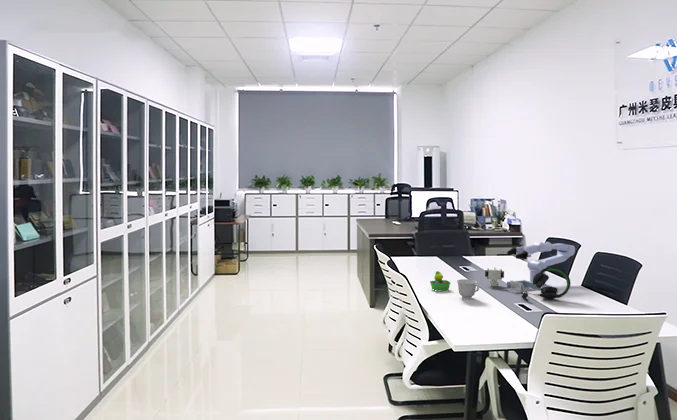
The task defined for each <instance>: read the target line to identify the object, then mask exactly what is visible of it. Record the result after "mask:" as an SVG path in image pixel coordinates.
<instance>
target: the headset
mask: <svg viewBox="0 0 677 420" xmlns="http://www.w3.org/2000/svg"><path fill="white" fill-rule="evenodd" d="M550 271H555V272H557V273H559V274H561V275H562V277H563V278H564V280H565V281H566V288H565V289H564V291H562V292H561V293H560V294H558V288H557V287H556V286H550V285H548V286H545V285H544V284H547V282H548V280H549V279H550V276H549V275H548V274H547V273H546V272H550ZM543 272H545V275H544V273H543ZM571 283H572V282H571V279H570V276H569V275H568V273H567V272H566V271H565V270H564V269H562V268H559V267H557V266H547V267H546V268H545V269H543V270H541V272H539V273H537V274H536V275H535V276H534V277H533V284H534V285H535V284H536V286H537V287H538V288H541V291H540V293H539V294H537V293H536V294H534V293H531V292H523V293H521V298H522V299H523V300H525V301H528V296H529V294H530V295H533V296H538V297H541V298H543V299H545V300H550V301H552V300H554V299H558V298H562V297H563V296H565V295H566V294H567V293H568V291H569V290H570V288H571Z"/></svg>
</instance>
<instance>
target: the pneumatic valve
mask: <svg viewBox="0 0 677 420" xmlns="http://www.w3.org/2000/svg"><path fill="white" fill-rule="evenodd" d="M484 277H485V278H486V279H487V280H490V281H489V285H490V286H492V287H498V286H499V282H500V281H502V279H504V278H505V271H504V270H502V268H496V267H493V268H490V267H489V268H487V269H485V271H484ZM498 280H499V281H498Z"/></svg>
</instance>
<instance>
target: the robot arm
mask: <svg viewBox="0 0 677 420" xmlns="http://www.w3.org/2000/svg"><path fill="white" fill-rule="evenodd" d="M552 250H557V251H556V255H553V256H550V257H546V258H543V259H535V260H534V259H530V260H528V262H527V264H526V265H527V268H528V271H529V282H533V277H534V276H535V275H536V274H537V273H539V272H541V270H543V269H545V268H548V267H551V266H554V265H556V264H560V263H563V262H566V261H567V260H568V259H569V258H570V257H572V256H574V255H575V252H576V247H575V246H574V245H572V244H567V243H566V244H565V243H561V242H560V243H559V242H558V243H551V242H550V241H545V242H542V241H541V242H533V243H532V244H530V245H526V246H524V245H521V246H520V247H517V246H512V247H511V249H510V250H508V251H507V252H506V253H507V254H506V255H508V256H510V255H513V256H515V259H520V260H521V259H522V260H527V259H528V258H532V255H534V254H536V253H544V252H551V251H552ZM543 273H544V275H545V274H546V272H543ZM545 285H547V283H545V284H544V285H543V286H545Z"/></svg>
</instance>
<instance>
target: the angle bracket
mask: <svg viewBox="0 0 677 420" xmlns="http://www.w3.org/2000/svg"><path fill="white" fill-rule="evenodd" d="M516 281H517V280H510V281H509V282H510V287H509V288H508V287H507V288H504V289H503V290H504V291H505V292H507V293H511V294H513V295H518V294H519V295H520V294H523V293H524V292H523V284H522V283H519V282H516Z"/></svg>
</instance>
